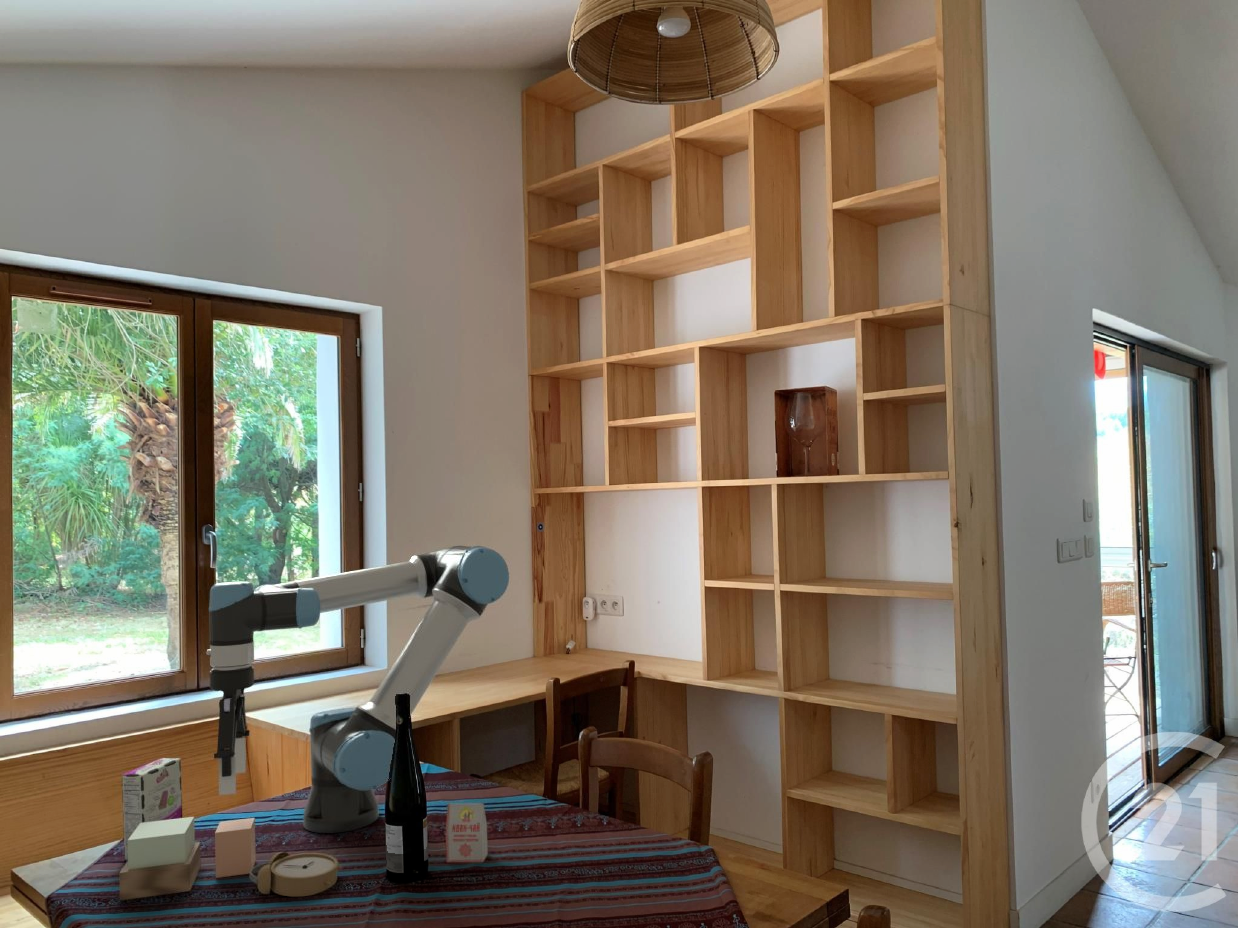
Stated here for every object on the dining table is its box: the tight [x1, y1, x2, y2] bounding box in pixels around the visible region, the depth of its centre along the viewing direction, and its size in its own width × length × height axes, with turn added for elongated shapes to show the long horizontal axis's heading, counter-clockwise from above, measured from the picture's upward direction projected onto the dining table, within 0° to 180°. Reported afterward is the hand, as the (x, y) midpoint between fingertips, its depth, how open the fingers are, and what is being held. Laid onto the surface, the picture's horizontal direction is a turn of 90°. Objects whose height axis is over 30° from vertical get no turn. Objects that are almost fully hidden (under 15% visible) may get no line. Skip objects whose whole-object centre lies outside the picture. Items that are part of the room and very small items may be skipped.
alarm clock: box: [249, 851, 344, 897], centre depth 161 cm, size 11×5×15 cm
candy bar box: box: [121, 757, 183, 861], centre depth 179 cm, size 11×5×16 cm, turn 168°
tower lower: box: [118, 841, 202, 901], centre depth 163 cm, size 11×11×5 cm
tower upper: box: [127, 816, 196, 870], centre depth 163 cm, size 9×9×5 cm
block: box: [214, 817, 256, 879], centre depth 168 cm, size 6×6×8 cm
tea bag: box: [445, 802, 489, 863], centre depth 170 cm, size 4×7×10 cm, turn 85°
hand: (233, 782), depth 169 cm, fingers open, 13 cm apart
